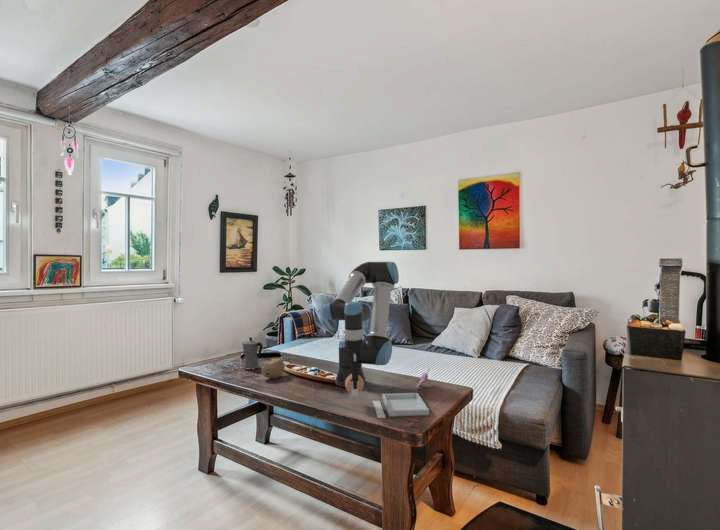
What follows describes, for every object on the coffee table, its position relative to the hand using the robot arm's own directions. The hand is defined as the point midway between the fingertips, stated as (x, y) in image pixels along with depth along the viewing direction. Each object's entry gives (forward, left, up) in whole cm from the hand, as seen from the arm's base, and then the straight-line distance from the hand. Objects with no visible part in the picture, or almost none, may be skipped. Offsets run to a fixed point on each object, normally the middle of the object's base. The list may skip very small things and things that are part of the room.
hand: (354, 392), depth 158 cm
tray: (+2, +21, -6) cm, 22 cm away
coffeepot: (-65, -56, -6) cm, 86 cm away
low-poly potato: (-45, -41, -6) cm, 61 cm away
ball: (0, 0, 0) cm, 0 cm away
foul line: (+4, +10, -6) cm, 12 cm away
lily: (-21, +35, -6) cm, 42 cm away
